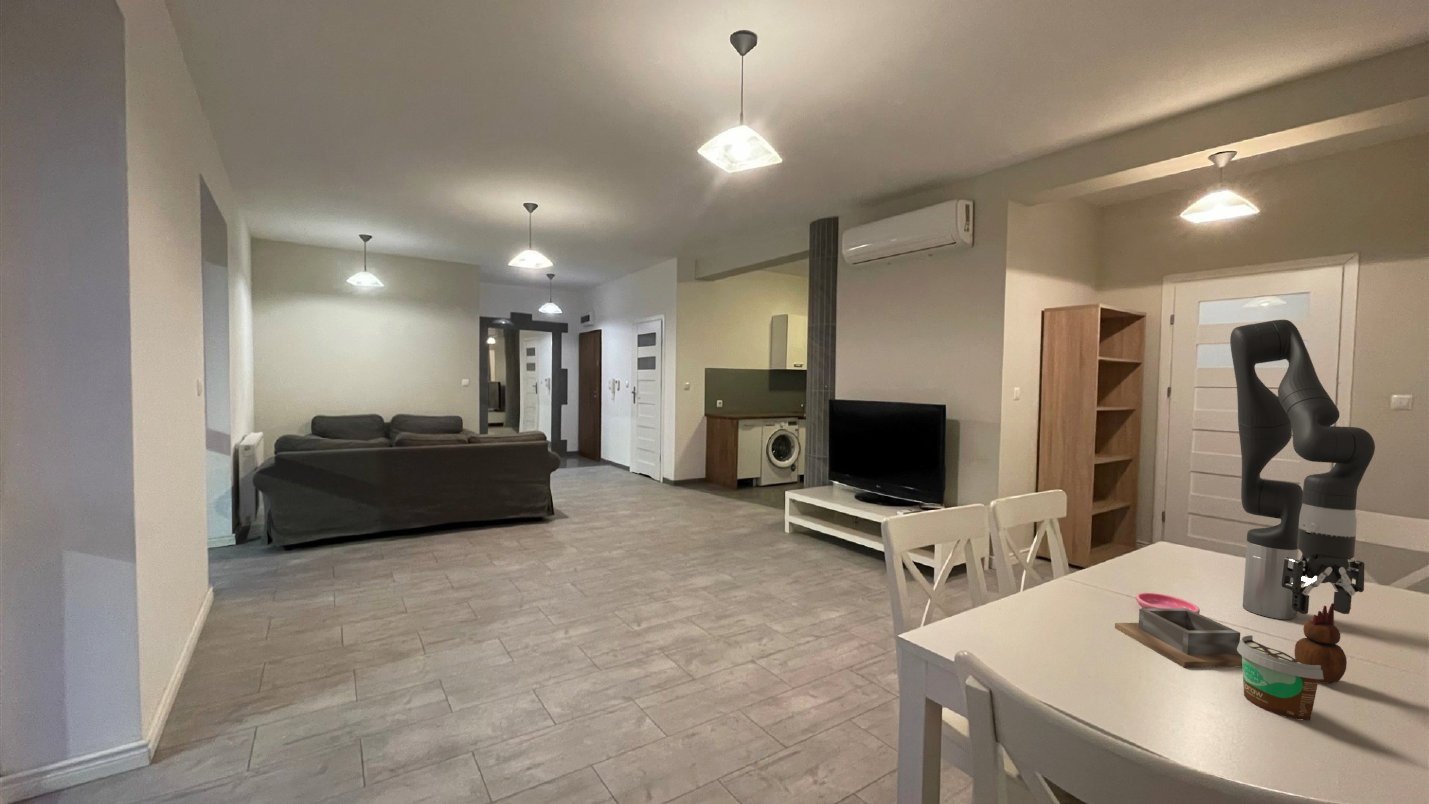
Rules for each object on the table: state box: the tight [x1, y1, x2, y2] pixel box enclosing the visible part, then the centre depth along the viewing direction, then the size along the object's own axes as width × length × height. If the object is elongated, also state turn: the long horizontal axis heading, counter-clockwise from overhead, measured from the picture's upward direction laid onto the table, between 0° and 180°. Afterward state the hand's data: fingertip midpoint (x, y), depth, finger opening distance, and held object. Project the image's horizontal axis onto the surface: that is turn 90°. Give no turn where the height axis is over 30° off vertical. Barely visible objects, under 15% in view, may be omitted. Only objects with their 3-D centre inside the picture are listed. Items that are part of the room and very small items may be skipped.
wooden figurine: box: [1294, 602, 1348, 684], centre depth 110 cm, size 7×6×15 cm
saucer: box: [1135, 592, 1201, 614], centre depth 141 cm, size 12×12×3 cm
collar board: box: [1114, 608, 1243, 669], centre depth 123 cm, size 18×18×6 cm
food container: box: [1237, 634, 1324, 721], centre depth 101 cm, size 12×6×10 cm, turn 5°
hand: (1320, 612), depth 110 cm, fingers open, 8 cm apart
